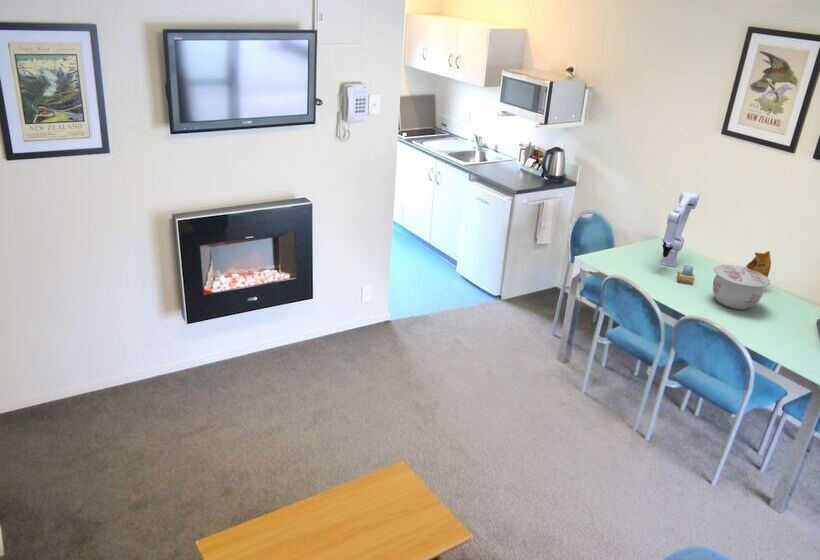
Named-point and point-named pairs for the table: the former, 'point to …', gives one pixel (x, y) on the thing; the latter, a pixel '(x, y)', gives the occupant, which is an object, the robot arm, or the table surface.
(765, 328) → the table surface
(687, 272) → the round block
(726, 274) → the chamber pot
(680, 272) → the oak slab
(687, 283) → the walnut slab
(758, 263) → the coffee package
